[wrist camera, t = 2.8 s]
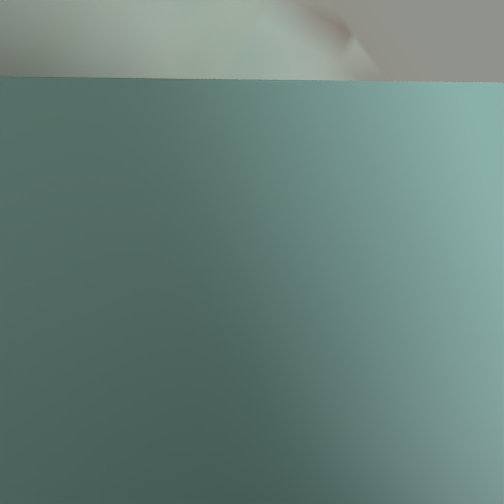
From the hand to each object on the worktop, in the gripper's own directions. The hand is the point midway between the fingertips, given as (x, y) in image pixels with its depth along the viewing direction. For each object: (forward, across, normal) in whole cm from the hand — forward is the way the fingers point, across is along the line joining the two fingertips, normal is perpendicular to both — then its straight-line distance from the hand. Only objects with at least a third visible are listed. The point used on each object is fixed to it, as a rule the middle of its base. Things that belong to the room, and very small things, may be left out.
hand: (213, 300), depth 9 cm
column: (+4, 0, +6) cm, 7 cm away
